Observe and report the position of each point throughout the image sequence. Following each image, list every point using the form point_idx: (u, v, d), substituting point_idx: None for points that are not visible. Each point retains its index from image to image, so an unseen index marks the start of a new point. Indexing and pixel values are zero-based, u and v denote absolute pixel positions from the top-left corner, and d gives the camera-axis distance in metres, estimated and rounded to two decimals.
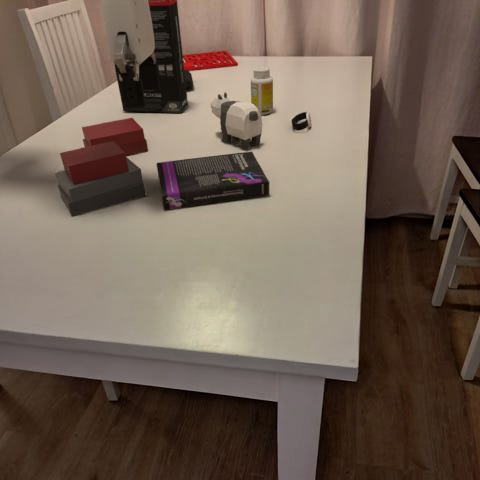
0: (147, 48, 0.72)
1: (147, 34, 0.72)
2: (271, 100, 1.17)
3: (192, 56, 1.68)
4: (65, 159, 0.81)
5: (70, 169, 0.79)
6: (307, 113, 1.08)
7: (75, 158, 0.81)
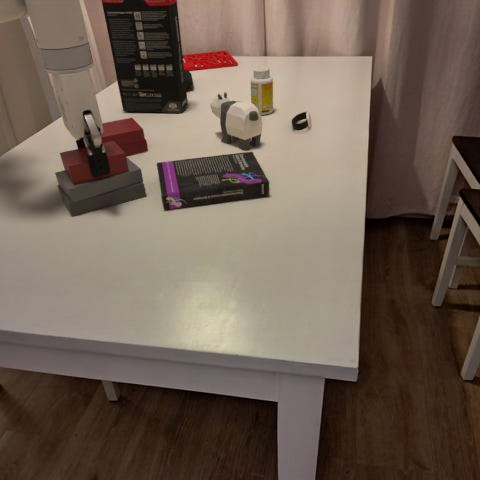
0: None
1: None
2: (271, 100, 1.17)
3: (192, 56, 1.68)
4: (65, 159, 0.81)
5: (70, 169, 0.79)
6: (307, 113, 1.08)
7: (75, 158, 0.81)
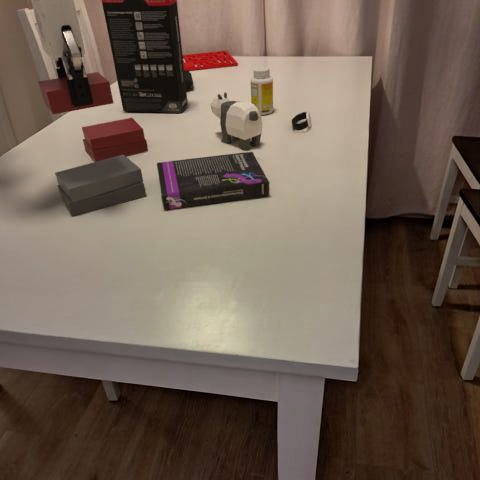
0: None
1: None
2: (271, 100, 1.17)
3: (192, 56, 1.68)
4: (43, 86, 0.74)
5: (48, 95, 0.72)
6: (307, 113, 1.08)
7: (54, 85, 0.74)
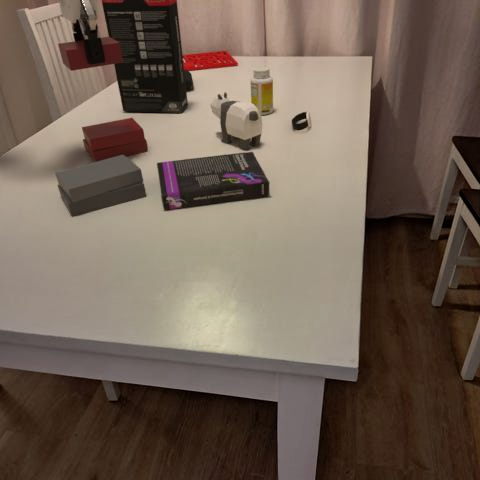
0: None
1: None
2: (271, 100, 1.17)
3: (192, 56, 1.68)
4: (63, 46, 0.86)
5: (67, 53, 0.84)
6: (307, 113, 1.08)
7: (72, 46, 0.86)
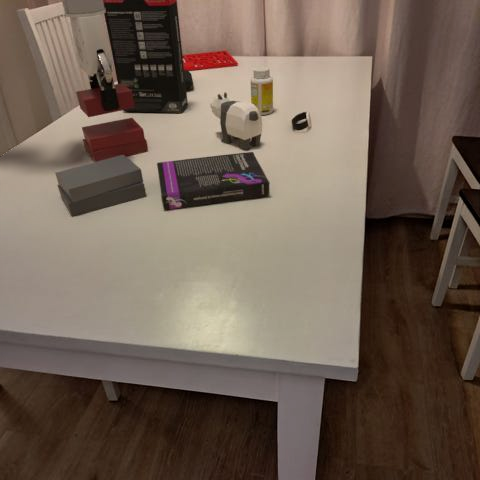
0: None
1: None
2: (271, 100, 1.17)
3: (192, 56, 1.68)
4: (81, 95, 0.95)
5: (85, 102, 0.93)
6: (307, 113, 1.08)
7: (89, 94, 0.95)
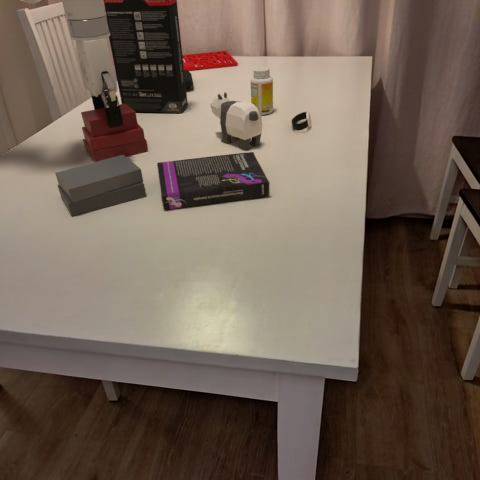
0: None
1: None
2: (271, 100, 1.17)
3: (192, 56, 1.68)
4: (86, 116, 0.98)
5: (90, 123, 0.96)
6: (307, 113, 1.08)
7: (94, 115, 0.98)
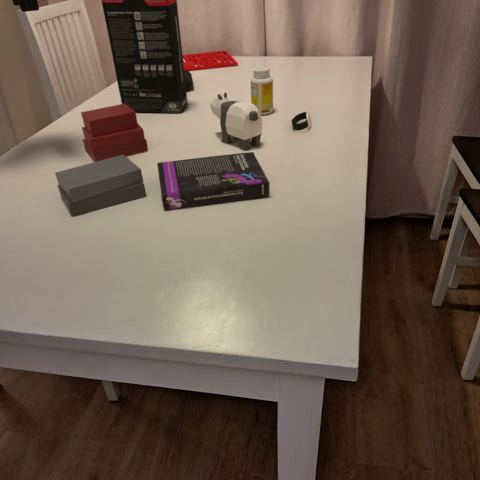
0: None
1: None
2: (271, 100, 1.17)
3: (192, 56, 1.68)
4: (86, 116, 0.98)
5: (90, 123, 0.96)
6: (307, 113, 1.08)
7: (94, 115, 0.98)
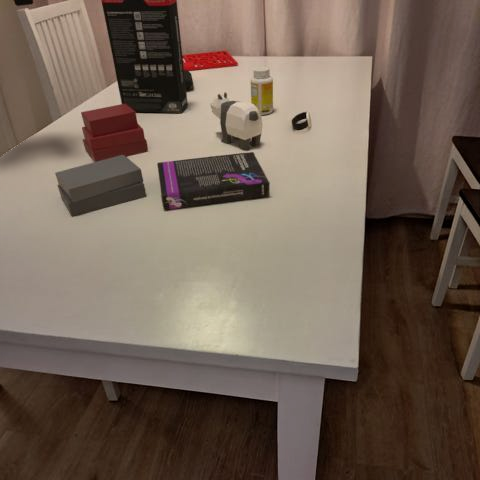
0: None
1: None
2: (271, 100, 1.17)
3: (192, 56, 1.68)
4: (86, 116, 0.98)
5: (90, 123, 0.96)
6: (307, 113, 1.08)
7: (94, 115, 0.98)
